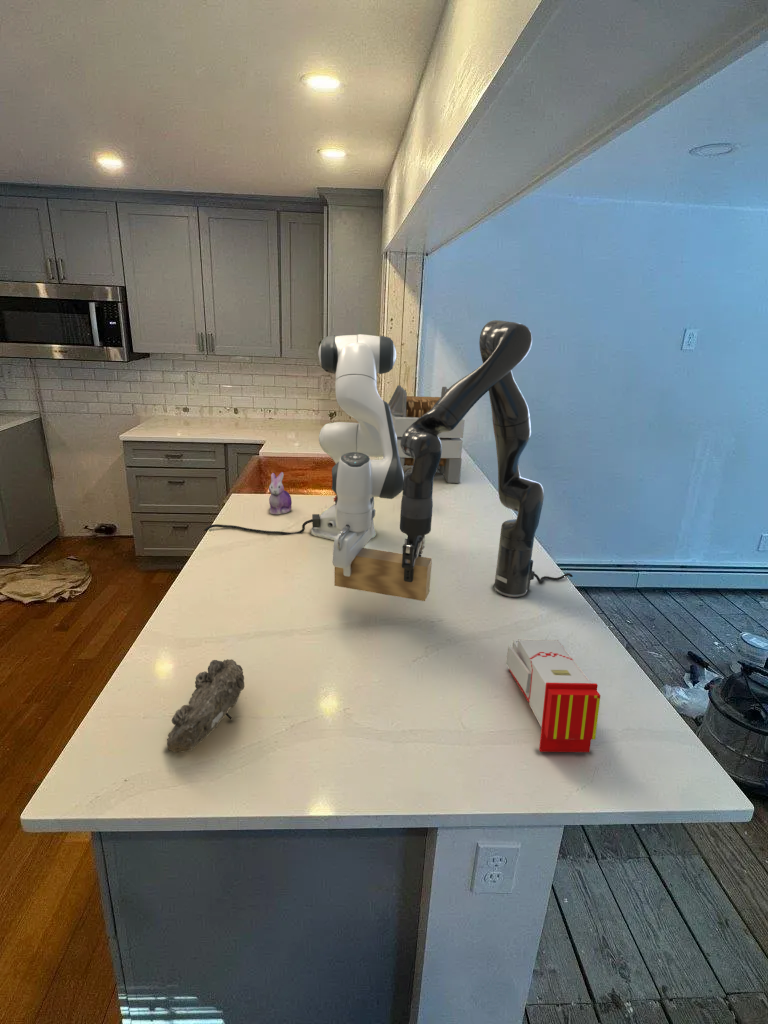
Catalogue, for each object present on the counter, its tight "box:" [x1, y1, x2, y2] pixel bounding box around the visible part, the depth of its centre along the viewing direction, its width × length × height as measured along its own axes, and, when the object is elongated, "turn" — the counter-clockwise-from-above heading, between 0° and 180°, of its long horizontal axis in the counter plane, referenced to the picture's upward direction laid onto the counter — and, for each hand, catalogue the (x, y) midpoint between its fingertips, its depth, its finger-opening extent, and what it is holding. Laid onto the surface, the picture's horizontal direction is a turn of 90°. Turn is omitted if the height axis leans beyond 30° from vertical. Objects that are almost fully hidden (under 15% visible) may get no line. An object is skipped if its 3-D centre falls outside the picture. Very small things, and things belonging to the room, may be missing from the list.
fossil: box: [166, 658, 245, 754], centre depth 106 cm, size 22×10×15 cm
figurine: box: [268, 471, 293, 515], centre depth 214 cm, size 9×10×15 cm
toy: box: [505, 638, 602, 753], centre depth 114 cm, size 12×13×30 cm
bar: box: [333, 547, 433, 602], centre depth 143 cm, size 24×6×9 cm, turn 74°
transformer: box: [387, 384, 465, 484], centre depth 268 cm, size 34×33×41 cm
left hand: (352, 569), depth 145 cm, fingers closed on bar, 5 cm apart
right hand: (412, 574), depth 141 cm, fingers open, 7 cm apart
